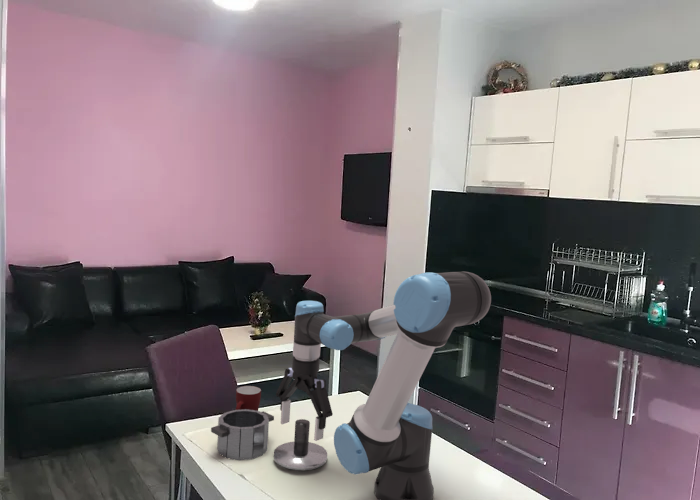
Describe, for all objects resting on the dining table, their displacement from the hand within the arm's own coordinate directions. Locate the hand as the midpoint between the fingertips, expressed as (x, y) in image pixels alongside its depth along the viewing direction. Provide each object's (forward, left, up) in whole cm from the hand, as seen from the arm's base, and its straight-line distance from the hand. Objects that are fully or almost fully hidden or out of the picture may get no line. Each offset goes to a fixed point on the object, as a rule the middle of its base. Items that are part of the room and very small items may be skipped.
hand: (301, 430), depth 160 cm
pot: (+17, +7, -9) cm, 20 cm away
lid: (0, 0, -9) cm, 9 cm away
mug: (+32, -6, -9) cm, 33 cm away
